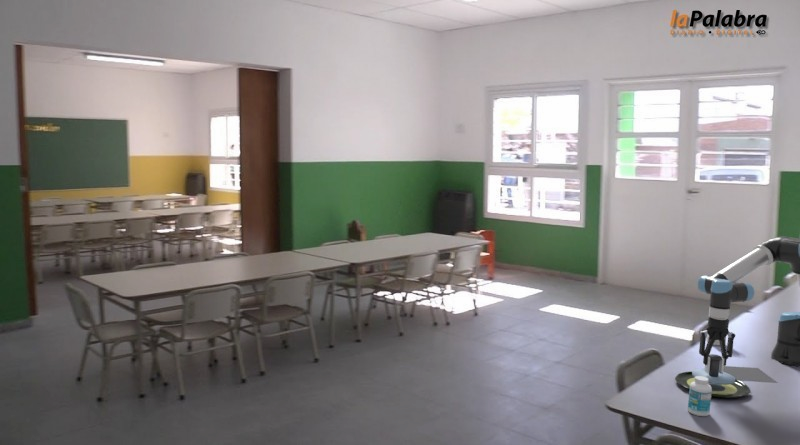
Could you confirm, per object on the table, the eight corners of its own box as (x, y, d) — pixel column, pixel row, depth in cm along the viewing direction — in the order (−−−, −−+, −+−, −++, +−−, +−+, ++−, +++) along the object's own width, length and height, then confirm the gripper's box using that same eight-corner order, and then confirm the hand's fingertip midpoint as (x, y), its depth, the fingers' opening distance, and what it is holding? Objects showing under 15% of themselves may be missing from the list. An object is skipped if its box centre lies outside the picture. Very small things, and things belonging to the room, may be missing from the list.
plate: (719, 407, 245) (720, 400, 245) (659, 382, 270) (660, 376, 269) (765, 395, 258) (765, 389, 258) (704, 372, 283) (704, 367, 282)
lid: (725, 371, 271) (727, 351, 270) (742, 385, 255) (744, 363, 254) (686, 369, 272) (688, 349, 271) (700, 383, 256) (702, 361, 255)
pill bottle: (683, 408, 242) (686, 374, 240) (702, 408, 242) (705, 374, 241) (694, 417, 234) (697, 381, 233) (713, 417, 235) (716, 381, 233)
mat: (757, 369, 288) (757, 367, 288) (777, 383, 270) (777, 382, 270) (716, 366, 290) (716, 365, 290) (733, 381, 272) (733, 380, 272)
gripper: (737, 316, 263) (732, 370, 266) (692, 313, 265) (688, 368, 268) (745, 321, 256) (740, 377, 259) (699, 318, 257) (694, 374, 260)
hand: (713, 372), depth 263 cm, fingers closed on lid, 5 cm apart
